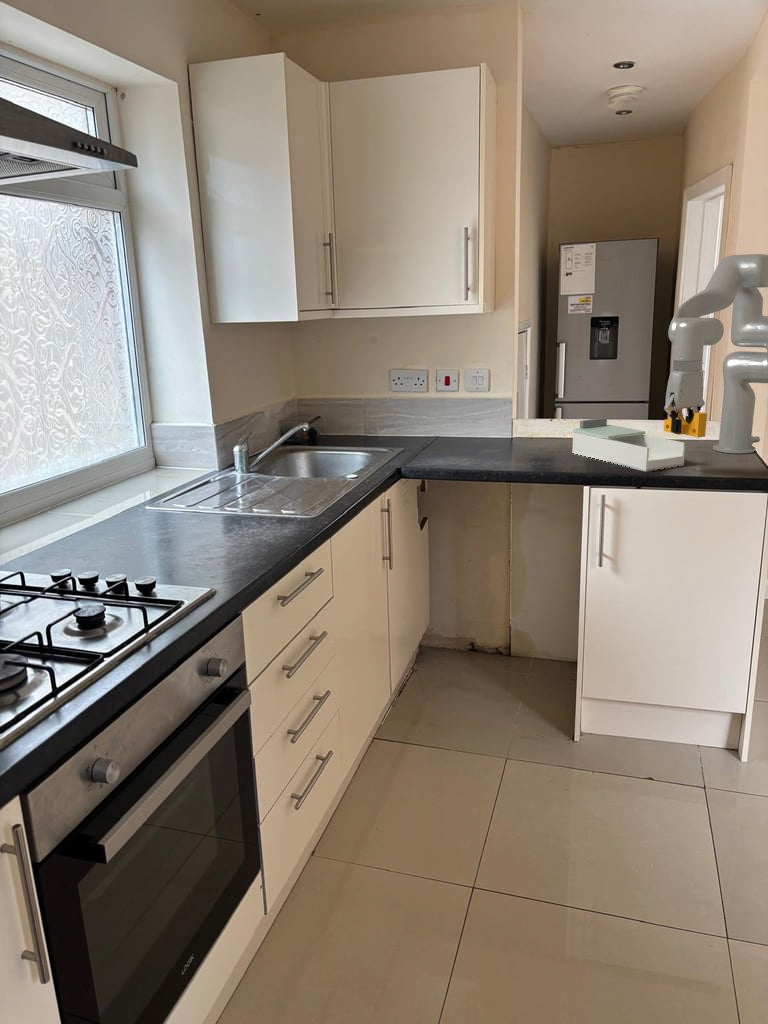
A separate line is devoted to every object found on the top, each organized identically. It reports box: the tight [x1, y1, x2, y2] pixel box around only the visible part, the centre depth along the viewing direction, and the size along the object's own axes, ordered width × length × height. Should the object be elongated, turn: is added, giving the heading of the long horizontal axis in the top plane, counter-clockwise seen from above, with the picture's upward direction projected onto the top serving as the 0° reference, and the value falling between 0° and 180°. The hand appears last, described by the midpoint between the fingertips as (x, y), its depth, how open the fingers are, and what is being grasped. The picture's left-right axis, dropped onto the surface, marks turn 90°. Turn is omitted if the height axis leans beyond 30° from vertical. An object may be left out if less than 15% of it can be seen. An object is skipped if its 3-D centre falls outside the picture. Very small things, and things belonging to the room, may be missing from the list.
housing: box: [571, 431, 686, 473], centre depth 244 cm, size 15×32×7 cm, turn 27°
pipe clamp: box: [663, 410, 708, 438], centre depth 219 cm, size 12×4×6 cm, turn 19°
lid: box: [572, 417, 646, 439], centre depth 249 cm, size 15×16×3 cm
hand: (682, 431), depth 220 cm, fingers closed on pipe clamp, 4 cm apart
